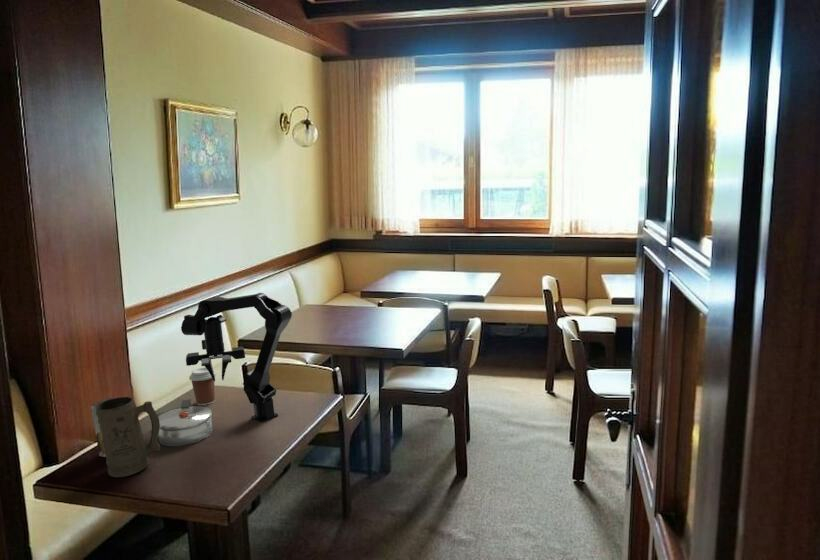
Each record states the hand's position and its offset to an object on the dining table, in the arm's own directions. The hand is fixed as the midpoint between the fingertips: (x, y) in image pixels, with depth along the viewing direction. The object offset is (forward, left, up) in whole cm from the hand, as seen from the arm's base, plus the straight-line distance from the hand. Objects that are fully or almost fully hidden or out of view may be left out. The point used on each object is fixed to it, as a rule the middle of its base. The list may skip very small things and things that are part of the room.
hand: (218, 380), depth 215 cm
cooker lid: (-2, +15, -7) cm, 17 cm away
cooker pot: (-2, +17, -12) cm, 21 cm away
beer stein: (-13, +38, -12) cm, 42 cm away
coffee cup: (+16, -4, -12) cm, 20 cm away
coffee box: (+1, +36, -12) cm, 38 cm away
